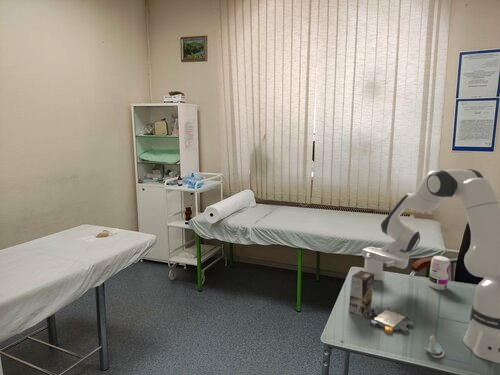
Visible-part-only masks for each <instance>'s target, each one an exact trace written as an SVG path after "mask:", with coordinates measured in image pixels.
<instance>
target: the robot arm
mask: <svg viewBox="0 0 500 375" xmlns="http://www.w3.org/2000/svg"><path fill="white" fill-rule="evenodd" d="M453 197H454V198H459V199H461V200H460V201H461V202H462V205H463V210H464V212H465V215H466V219H467V222H468V225H469V230H470V245H469V248H468V250H467V252H466V253H465V254H464V258H463V262H464V266H465V268H466V270H467V271H468V273H469V274H471V275H473V276H474V277H477V278H478V277H479V278H483V279H482V280H481V281H480V282H479V283H478V284H477V286H476V288H475V294H474V298H473V300H474V301H473V304H472V306H471V308H470V312H469V318H470V319H469V321H470V322H469V325H468V329H467V330H466V333H465V334H464V337H463V339H462V341H463V344H465V346H466V347H467V348H469V349H470V350H471V351H472V353H473V354H474V355H475V356H476V357H478V358H480V359H483V360H486V361H489V362H493V363H495V364H498V365H500V203H499V199H498V196H497V195H496V193H495V191H494V189H493V187H492V185H491V183H490V182H489V181H488V180H487V179H486V178H484V175H483V174H482V173H481V172H480V171H478V170H476V169H472V168H471V169H470V168H465V169H463V168H448V169H439V170H431V171H429V172H428V173H426V175H425V176H424V177H423V179H421V180H420V183H419V184H418V187H417V188H416V190H415V191H414V192H408V193H407V194H405V195H403V197H402V198H400V200H399V201H398V202H397V204H396V205H395V206H394V207H393V208H392V210H391V211H390V212H389V214H388V215H387V216H386V217H385V218H384V219H382V221H381V224H380V230H381V232H382V233H383V234H385V235H387V236H389V237H390V238H391V239H392V240H394V241H392V242H391V243H388V244H385V245H384V246H383V247H380V248H381V249H378V248H379V247H374V246H367V247H365V248H362V252H361V256H362V257H363V258H364V260H365V259H366V260H370V259H373V260H376V261H379V262H382V263H383V264H385V265H384V266H385V267H388V268H389V267H395V268H398V269H406V268H407V266H408V265H409V261H410V260H409V259H410V252H413V251H414V250H415V249H416V248H417V247H418V245H419V243H420V241H421V234H420V232H419V231H418V230H417V229H415V228H414V227H413V226H411V225H409V224H408V223H407V222H405V221H404V220H402V219H401V217H400V216H401V215H402V214H403V213H404V211H405V210H406V209H410V210H412V211H416V212H417V211H418V212H422V213H430V212H433V211H435V210H436V209H437V208H438V207H439V206H440V205H441V203H442V201H443V199H444V198H453ZM365 257H366V258H365Z"/></svg>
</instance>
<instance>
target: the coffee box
mask: <svg viewBox="0 0 500 375" xmlns="http://www.w3.org/2000/svg"><path fill="white" fill-rule="evenodd" d="M374 281H375V280H374V274H372V273H369V272H365V271H364V270H359V271H357V272H356V273H354V274H352V275H351V280H350V292H349V303H348V311H349V312H351V313H353V314H356V315H358V316H361V317H362V316H364V315H365V314H367V312H369V311H370V310H372V304H373V292H374V283H375V282H374Z"/></svg>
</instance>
